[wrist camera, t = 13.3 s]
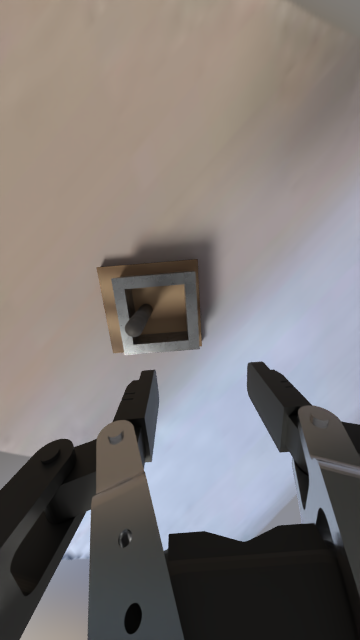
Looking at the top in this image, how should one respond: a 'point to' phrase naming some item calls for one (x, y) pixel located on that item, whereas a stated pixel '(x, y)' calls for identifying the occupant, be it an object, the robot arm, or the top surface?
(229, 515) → the top surface
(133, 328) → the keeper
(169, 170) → the top surface
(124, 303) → the link
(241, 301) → the top surface
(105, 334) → the top surface
